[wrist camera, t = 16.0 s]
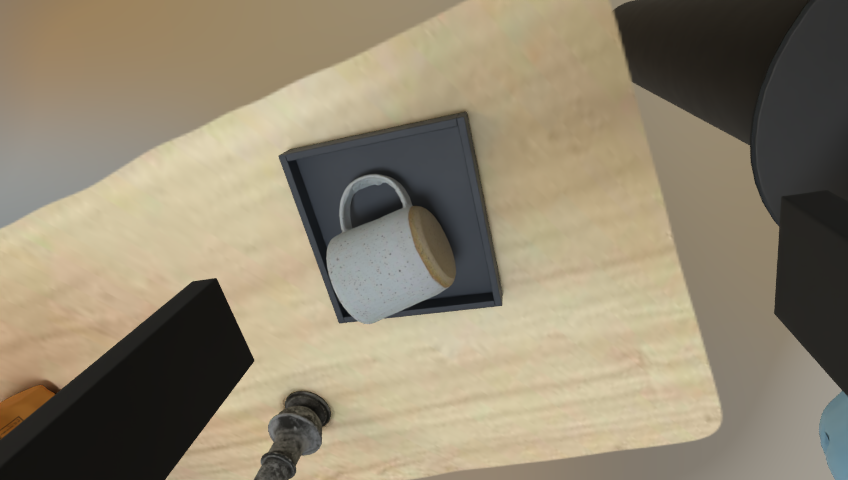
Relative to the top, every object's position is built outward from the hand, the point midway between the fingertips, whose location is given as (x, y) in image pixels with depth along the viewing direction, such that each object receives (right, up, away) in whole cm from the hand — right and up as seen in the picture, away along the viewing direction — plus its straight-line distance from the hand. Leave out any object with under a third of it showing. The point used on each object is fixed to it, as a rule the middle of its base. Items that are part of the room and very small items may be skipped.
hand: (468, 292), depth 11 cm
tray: (-3, +3, +29) cm, 30 cm away
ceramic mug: (-4, +2, +29) cm, 30 cm away
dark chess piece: (-14, -17, +41) cm, 47 cm away
